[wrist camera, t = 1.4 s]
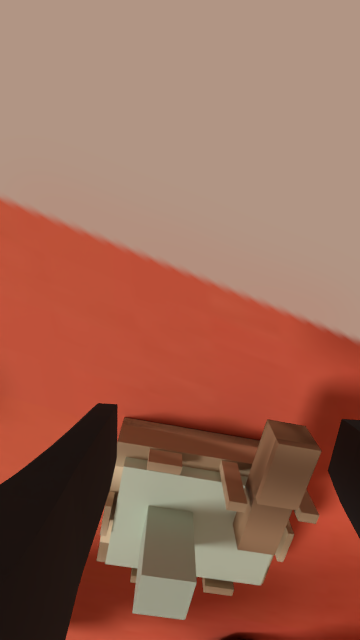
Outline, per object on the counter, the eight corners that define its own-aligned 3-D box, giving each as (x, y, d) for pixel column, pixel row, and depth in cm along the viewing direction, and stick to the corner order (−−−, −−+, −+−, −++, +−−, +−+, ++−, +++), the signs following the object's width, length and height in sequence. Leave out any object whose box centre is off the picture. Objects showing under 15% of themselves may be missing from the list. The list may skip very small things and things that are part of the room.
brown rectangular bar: (266, 529, 19) (276, 562, 17) (232, 523, 19) (238, 556, 17) (305, 426, 17) (321, 451, 15) (267, 419, 17) (278, 443, 15)
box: (254, 549, 25) (275, 636, 19) (104, 527, 24) (84, 612, 19) (292, 446, 22) (328, 515, 17) (124, 417, 21) (106, 480, 16)
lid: (257, 573, 22) (278, 664, 17) (107, 551, 21) (88, 641, 17) (291, 483, 20) (326, 561, 15) (125, 456, 19) (109, 529, 14)
